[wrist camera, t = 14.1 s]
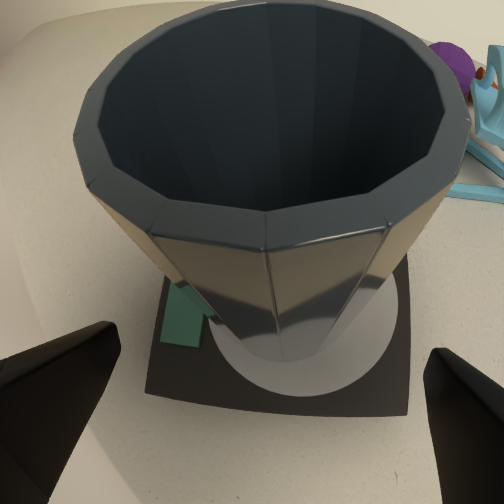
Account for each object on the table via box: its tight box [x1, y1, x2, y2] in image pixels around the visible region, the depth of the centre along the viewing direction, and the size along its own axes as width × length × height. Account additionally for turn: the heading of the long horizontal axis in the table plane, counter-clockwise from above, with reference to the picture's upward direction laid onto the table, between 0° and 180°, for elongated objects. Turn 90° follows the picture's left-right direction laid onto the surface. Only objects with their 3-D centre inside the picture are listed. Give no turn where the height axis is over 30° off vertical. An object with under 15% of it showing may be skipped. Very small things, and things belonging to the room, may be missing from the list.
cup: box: [73, 0, 472, 362], centre depth 11 cm, size 7×7×13 cm
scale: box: [145, 253, 411, 417], centre depth 18 cm, size 14×12×3 cm
